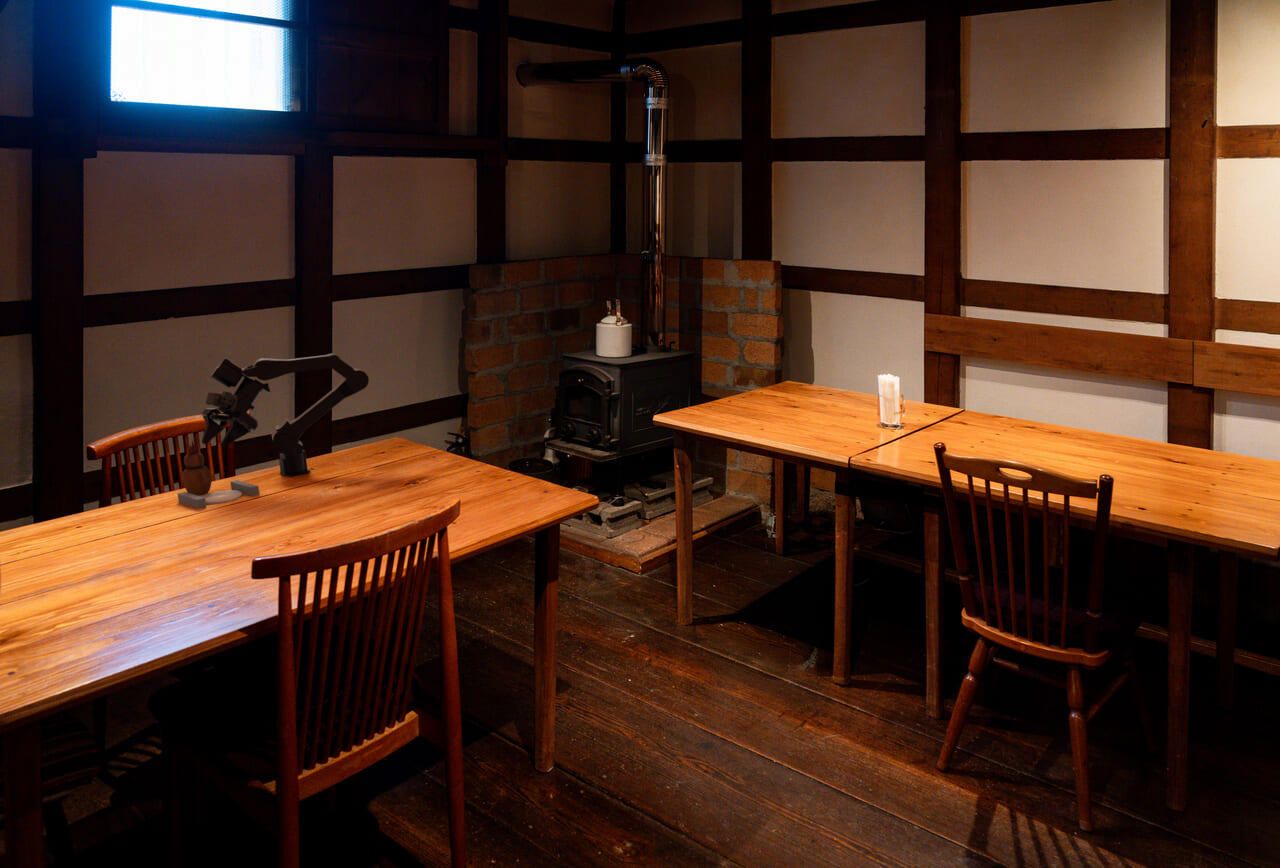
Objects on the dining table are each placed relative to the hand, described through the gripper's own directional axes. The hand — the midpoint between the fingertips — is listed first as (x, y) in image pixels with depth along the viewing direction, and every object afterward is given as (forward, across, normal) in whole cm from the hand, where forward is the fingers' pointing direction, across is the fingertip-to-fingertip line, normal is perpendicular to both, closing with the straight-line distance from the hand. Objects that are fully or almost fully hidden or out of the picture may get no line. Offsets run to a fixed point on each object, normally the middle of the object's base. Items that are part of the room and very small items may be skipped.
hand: (212, 444), depth 264 cm
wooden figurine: (+13, 0, +5) cm, 14 cm away
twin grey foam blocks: (+13, +10, +4) cm, 17 cm away
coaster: (+13, +10, +4) cm, 17 cm away
